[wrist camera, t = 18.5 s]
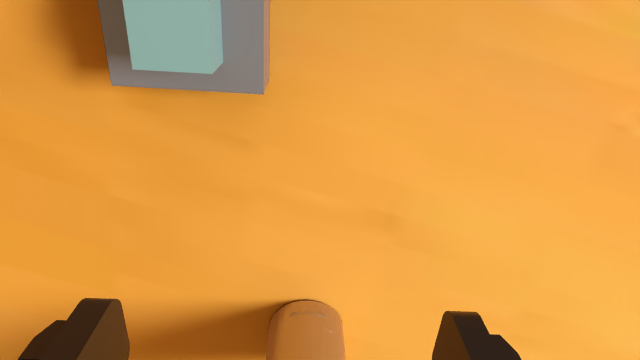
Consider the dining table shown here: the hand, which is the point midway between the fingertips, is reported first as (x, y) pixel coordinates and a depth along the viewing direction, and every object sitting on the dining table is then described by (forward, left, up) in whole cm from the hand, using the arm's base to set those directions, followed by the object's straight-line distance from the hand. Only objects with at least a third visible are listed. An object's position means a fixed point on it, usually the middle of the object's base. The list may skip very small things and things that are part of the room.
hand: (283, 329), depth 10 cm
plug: (+4, +9, -29) cm, 30 cm away
